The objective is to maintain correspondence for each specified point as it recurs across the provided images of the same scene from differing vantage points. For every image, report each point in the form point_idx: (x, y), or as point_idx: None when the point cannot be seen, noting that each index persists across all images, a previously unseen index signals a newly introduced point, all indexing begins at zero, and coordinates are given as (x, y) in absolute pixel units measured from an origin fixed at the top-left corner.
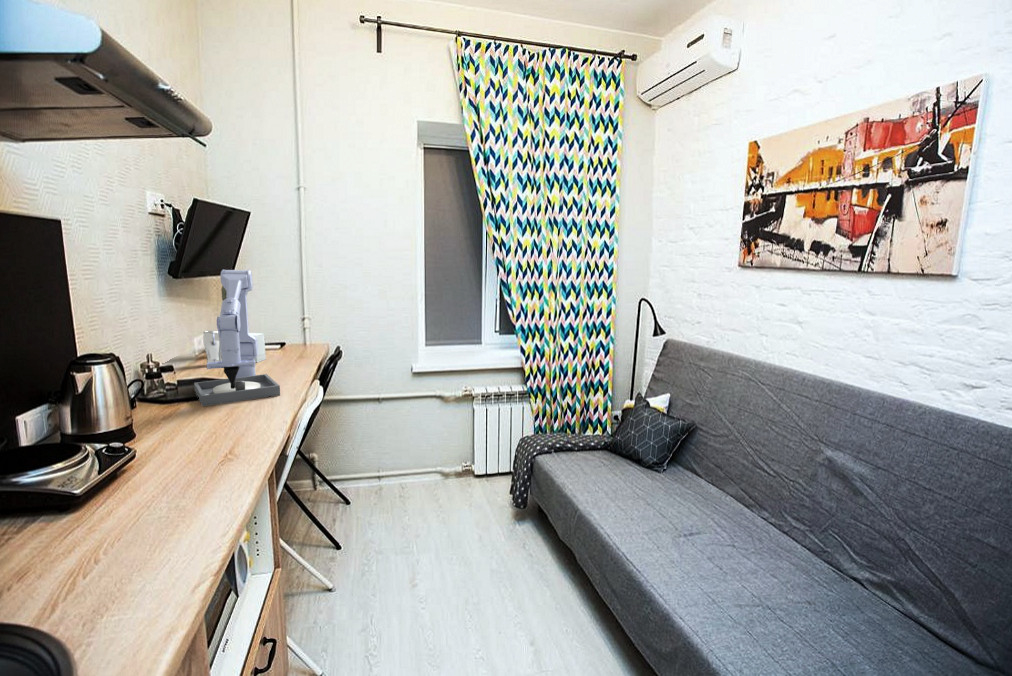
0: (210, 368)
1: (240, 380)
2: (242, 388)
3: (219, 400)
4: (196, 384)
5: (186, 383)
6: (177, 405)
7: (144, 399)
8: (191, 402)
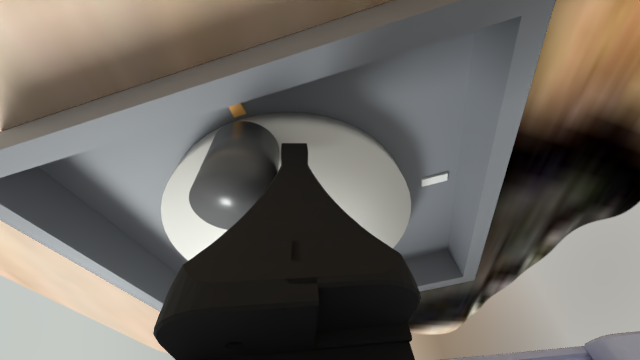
0: (609, 346)
1: None
2: (216, 142)
3: (379, 12)
4: (474, 262)
5: (452, 305)
6: (597, 65)
7: (632, 197)
8: None
